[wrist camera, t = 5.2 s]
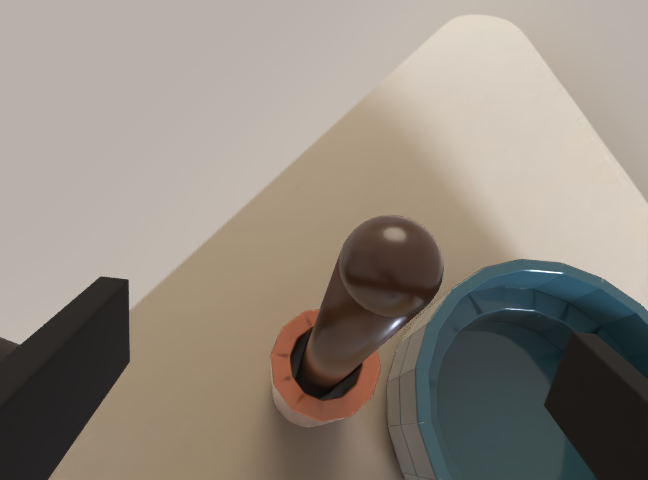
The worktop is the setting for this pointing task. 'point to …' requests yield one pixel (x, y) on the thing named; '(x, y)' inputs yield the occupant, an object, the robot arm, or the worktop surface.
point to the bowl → (501, 372)
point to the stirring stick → (370, 297)
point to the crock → (304, 406)
